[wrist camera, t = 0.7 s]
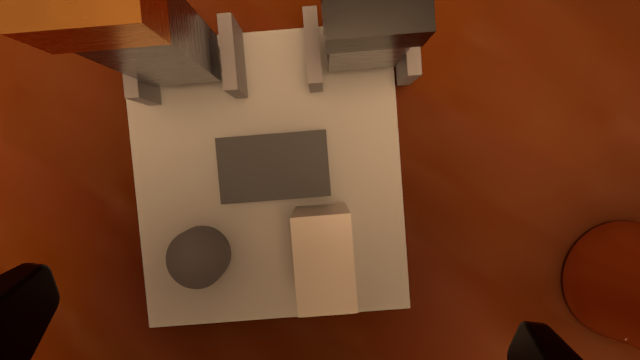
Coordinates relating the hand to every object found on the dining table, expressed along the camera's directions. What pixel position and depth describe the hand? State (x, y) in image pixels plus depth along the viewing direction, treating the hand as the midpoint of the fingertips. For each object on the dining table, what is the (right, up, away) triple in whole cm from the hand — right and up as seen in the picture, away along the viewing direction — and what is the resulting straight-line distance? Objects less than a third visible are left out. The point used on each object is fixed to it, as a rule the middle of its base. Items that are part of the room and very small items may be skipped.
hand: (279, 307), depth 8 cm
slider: (+1, -1, +13) cm, 13 cm away
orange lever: (-5, +8, +11) cm, 14 cm away
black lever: (+3, +8, +11) cm, 14 cm away
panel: (-2, +3, +14) cm, 14 cm away
